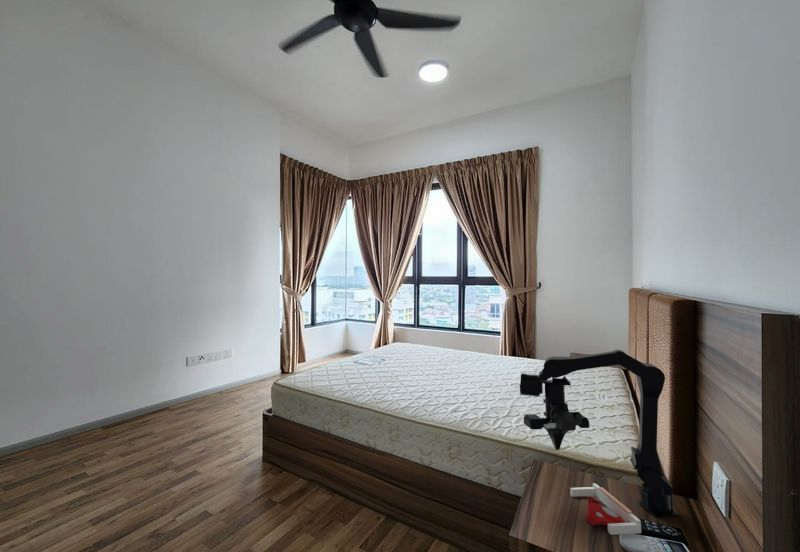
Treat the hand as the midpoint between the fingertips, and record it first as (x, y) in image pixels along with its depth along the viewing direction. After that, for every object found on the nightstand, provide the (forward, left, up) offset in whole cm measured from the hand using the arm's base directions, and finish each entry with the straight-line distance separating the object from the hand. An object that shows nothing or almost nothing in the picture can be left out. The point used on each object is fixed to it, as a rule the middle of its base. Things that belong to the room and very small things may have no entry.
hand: (557, 449), depth 107 cm
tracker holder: (-5, +14, -12) cm, 20 cm away
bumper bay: (-6, +12, -12) cm, 18 cm away
